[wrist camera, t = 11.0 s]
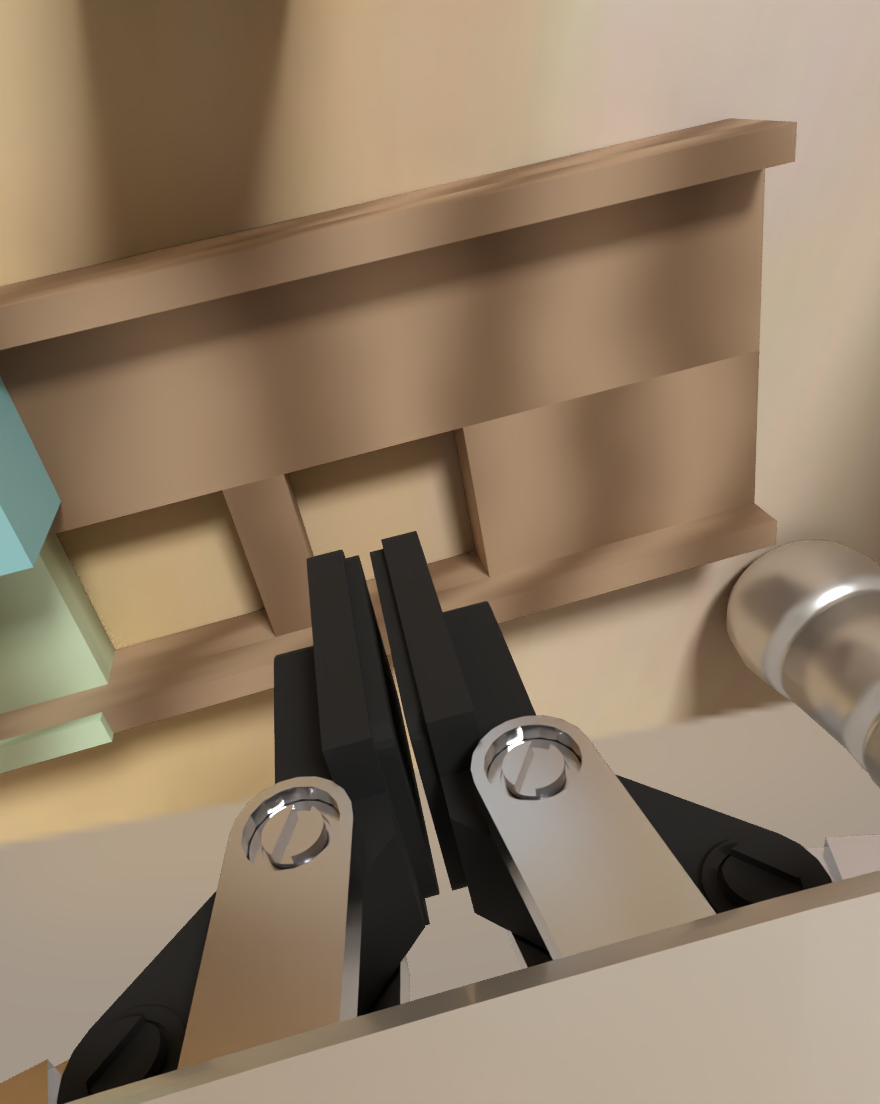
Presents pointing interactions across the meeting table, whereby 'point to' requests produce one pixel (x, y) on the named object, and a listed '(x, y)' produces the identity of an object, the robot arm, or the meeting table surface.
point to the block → (21, 493)
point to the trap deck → (398, 403)
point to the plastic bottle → (816, 637)
